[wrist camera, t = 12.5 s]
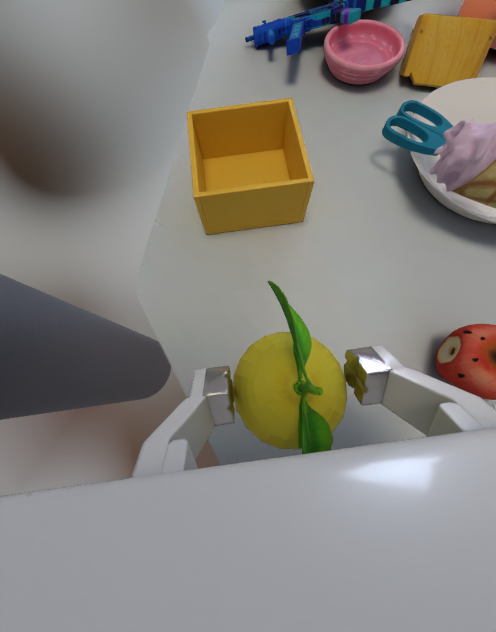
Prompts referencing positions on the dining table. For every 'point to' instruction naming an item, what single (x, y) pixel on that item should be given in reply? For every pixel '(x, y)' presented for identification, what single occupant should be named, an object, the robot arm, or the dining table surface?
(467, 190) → the ice cream cone
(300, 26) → the toy gun
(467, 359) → the apple
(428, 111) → the scissors
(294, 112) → the yellow bin
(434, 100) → the bowl
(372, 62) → the saucer
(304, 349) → the lemon
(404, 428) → the dining table surface
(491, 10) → the teapot
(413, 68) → the yellow wooden block
